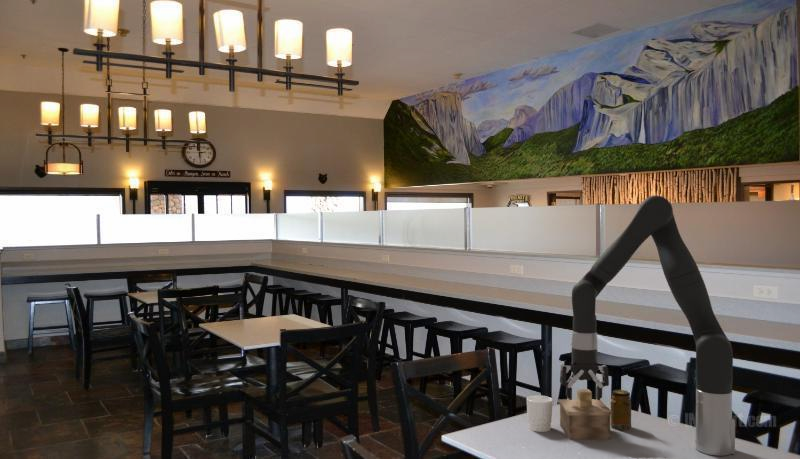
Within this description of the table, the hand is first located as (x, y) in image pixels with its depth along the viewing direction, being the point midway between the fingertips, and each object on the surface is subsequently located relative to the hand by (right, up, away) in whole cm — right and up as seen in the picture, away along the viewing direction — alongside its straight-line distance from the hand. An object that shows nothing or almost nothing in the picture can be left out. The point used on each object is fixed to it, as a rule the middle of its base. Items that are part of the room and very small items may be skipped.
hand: (584, 399), depth 198 cm
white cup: (-13, -11, +4) cm, 17 cm away
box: (0, -11, 0) cm, 11 cm away
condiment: (+13, -11, +4) cm, 18 cm away
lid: (0, -3, 0) cm, 3 cm away
